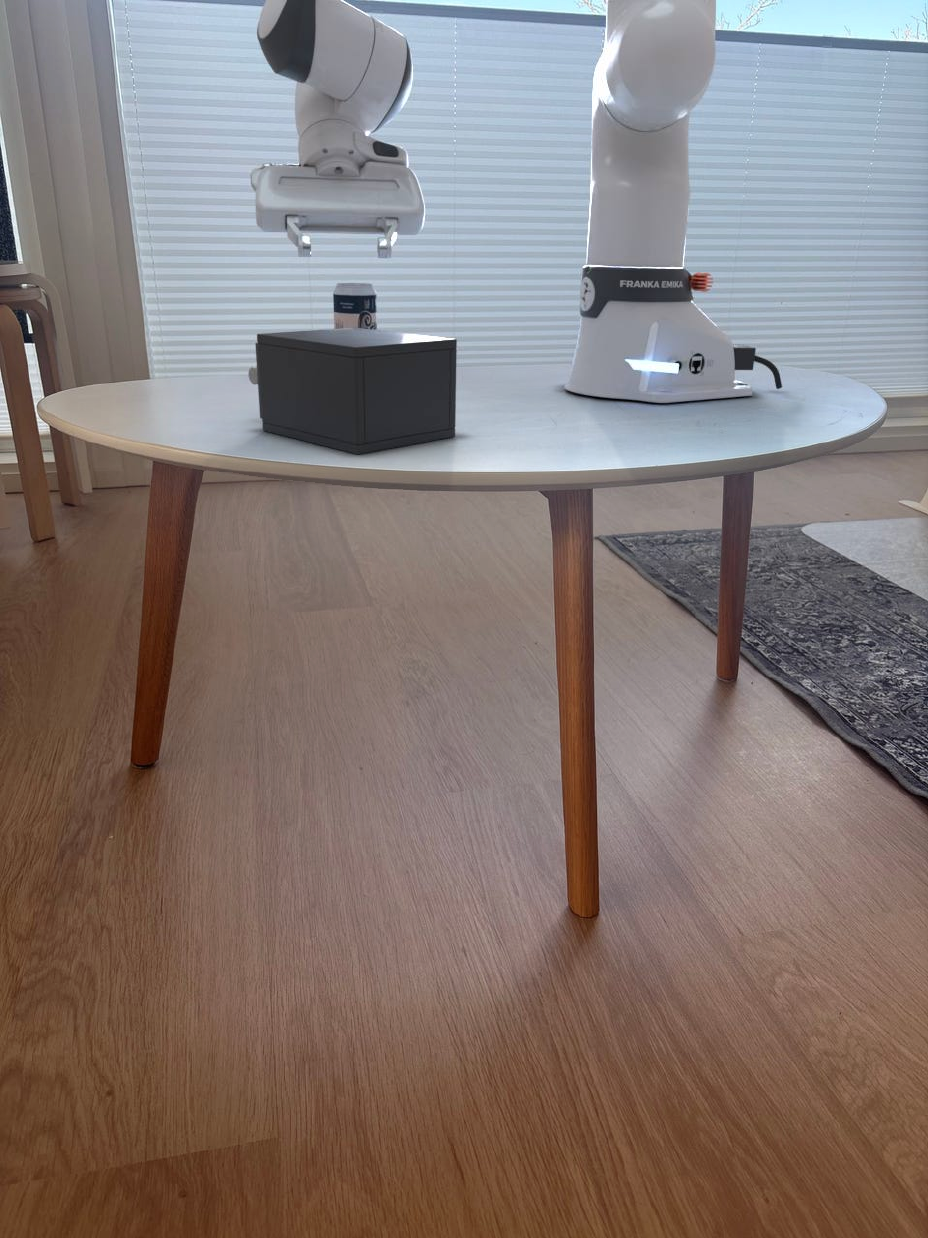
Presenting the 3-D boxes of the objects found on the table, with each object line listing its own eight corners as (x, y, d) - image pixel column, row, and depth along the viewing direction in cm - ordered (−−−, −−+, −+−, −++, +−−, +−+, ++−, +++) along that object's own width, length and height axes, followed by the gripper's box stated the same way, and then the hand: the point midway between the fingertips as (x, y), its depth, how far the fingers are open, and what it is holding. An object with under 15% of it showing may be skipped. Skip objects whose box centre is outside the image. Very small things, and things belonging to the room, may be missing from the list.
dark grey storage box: (262, 430, 86) (256, 333, 83) (359, 416, 94) (356, 327, 90) (357, 454, 77) (355, 347, 74) (455, 436, 85) (457, 338, 82)
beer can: (375, 399, 104) (374, 285, 99) (333, 398, 104) (329, 284, 99) (380, 392, 108) (378, 283, 104) (339, 391, 108) (336, 282, 104)
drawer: (235, 412, 89) (230, 338, 87) (321, 401, 96) (319, 333, 94) (345, 438, 79) (343, 355, 76) (433, 424, 86) (433, 347, 83)
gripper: (248, 141, 110) (254, 231, 105) (419, 148, 114) (432, 235, 109) (250, 185, 116) (256, 271, 110) (413, 190, 120) (426, 274, 115)
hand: (345, 253), depth 110 cm, fingers open, 8 cm apart
